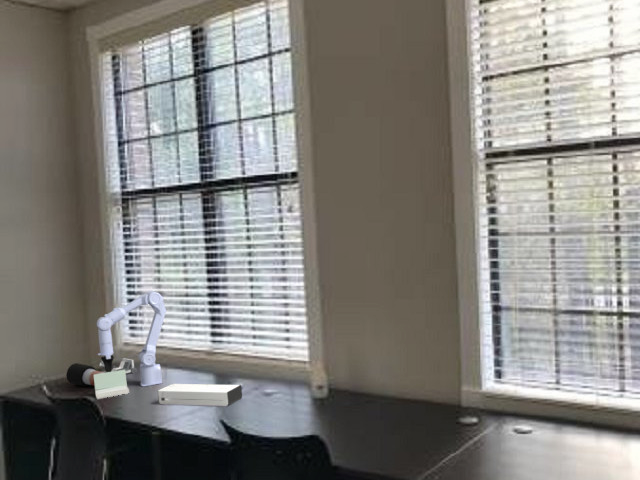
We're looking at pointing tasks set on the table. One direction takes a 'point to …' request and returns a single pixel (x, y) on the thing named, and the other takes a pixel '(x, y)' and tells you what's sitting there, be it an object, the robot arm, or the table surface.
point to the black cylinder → (81, 374)
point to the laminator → (199, 394)
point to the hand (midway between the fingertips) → (108, 371)
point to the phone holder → (122, 366)
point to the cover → (110, 380)
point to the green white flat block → (111, 392)
